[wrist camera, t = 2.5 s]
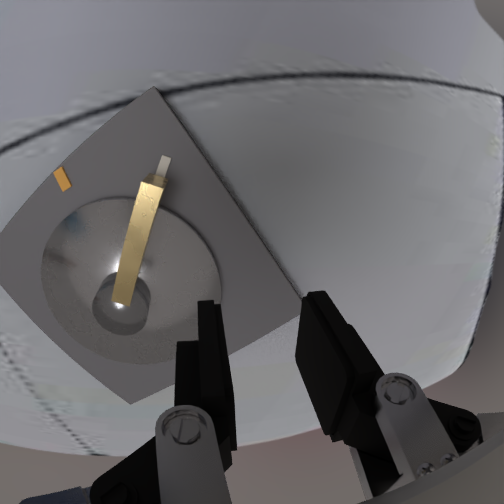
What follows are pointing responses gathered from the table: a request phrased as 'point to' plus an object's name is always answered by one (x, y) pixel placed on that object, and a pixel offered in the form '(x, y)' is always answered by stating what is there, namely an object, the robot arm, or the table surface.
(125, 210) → the capstan dial
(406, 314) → the table surface
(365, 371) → the robot arm
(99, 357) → the dial base
